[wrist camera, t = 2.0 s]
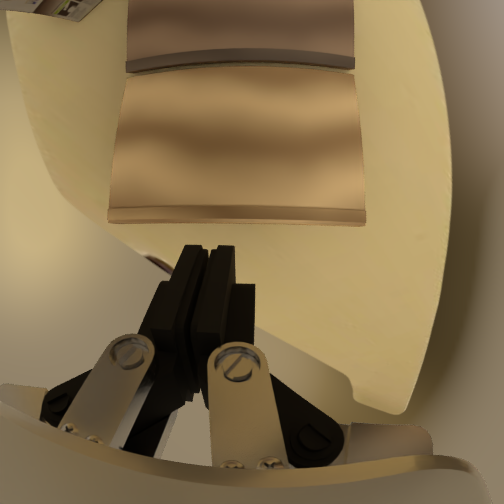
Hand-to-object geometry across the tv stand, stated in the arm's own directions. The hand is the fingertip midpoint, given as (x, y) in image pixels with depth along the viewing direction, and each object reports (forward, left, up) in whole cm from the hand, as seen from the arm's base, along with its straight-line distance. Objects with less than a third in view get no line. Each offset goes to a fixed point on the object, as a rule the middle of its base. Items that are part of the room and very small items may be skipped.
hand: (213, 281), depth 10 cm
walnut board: (-13, 0, -16) cm, 21 cm away
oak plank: (-3, 0, -13) cm, 13 cm away
